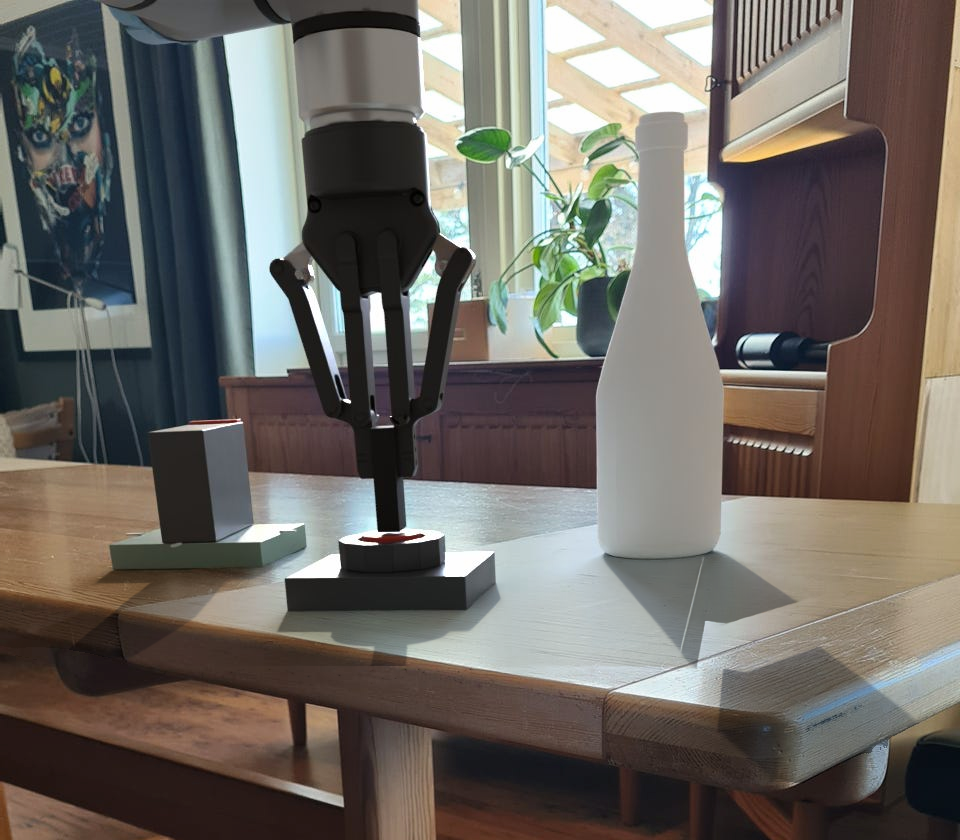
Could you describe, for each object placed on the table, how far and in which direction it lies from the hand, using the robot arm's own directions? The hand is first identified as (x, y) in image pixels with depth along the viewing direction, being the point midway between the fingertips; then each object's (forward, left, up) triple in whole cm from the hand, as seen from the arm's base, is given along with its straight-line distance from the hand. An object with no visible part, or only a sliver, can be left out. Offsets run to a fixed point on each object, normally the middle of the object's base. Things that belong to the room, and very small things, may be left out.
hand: (392, 529), depth 85 cm
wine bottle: (+13, +21, -5) cm, 25 cm away
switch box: (0, 0, -5) cm, 5 cm away
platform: (-24, +15, -5) cm, 29 cm away
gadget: (-24, +15, -2) cm, 28 cm away
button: (0, 0, -2) cm, 2 cm away
